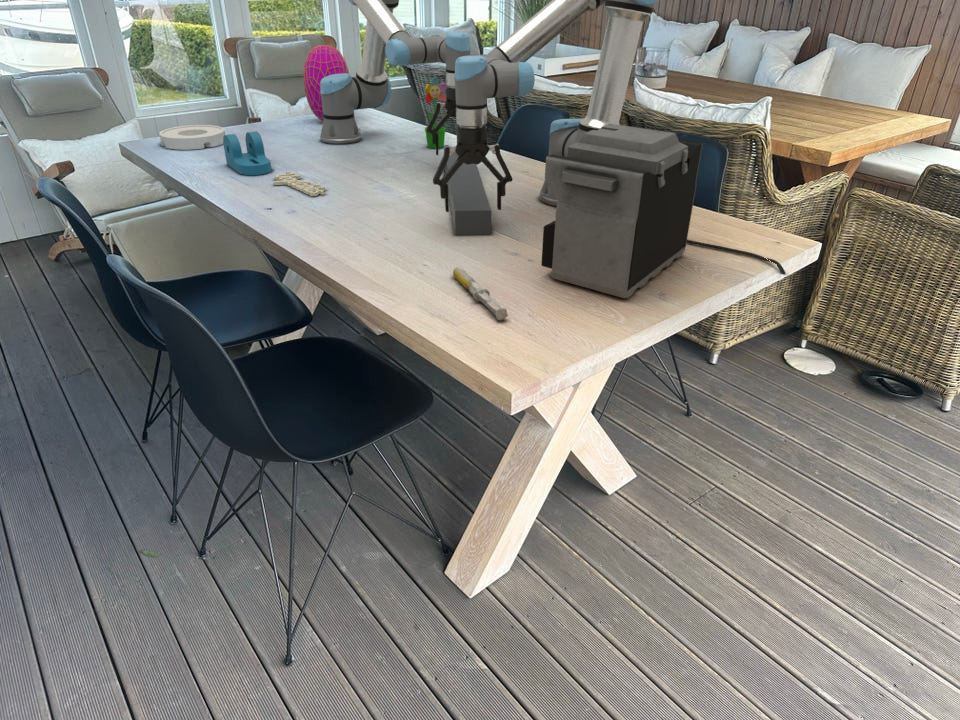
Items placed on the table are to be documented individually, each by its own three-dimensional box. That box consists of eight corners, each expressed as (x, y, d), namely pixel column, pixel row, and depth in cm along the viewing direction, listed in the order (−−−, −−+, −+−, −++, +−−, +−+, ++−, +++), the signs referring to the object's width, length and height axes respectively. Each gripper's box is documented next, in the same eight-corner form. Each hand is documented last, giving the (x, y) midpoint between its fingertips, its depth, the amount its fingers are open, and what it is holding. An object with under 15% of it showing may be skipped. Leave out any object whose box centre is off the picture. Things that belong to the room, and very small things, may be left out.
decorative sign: (262, 176, 218) (290, 170, 223) (262, 179, 218) (291, 173, 224) (303, 195, 201) (333, 189, 206) (303, 198, 201) (333, 192, 207)
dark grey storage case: (608, 233, 179) (621, 113, 163) (689, 253, 168) (712, 126, 152) (533, 279, 153) (540, 141, 138) (624, 305, 142) (643, 159, 127)
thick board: (490, 234, 178) (491, 210, 174) (455, 235, 177) (455, 210, 174) (470, 166, 235) (470, 146, 232) (444, 166, 235) (443, 147, 231)
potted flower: (429, 149, 253) (427, 77, 241) (420, 145, 259) (418, 74, 247) (452, 147, 257) (451, 75, 245) (443, 142, 263) (442, 72, 250)
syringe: (449, 274, 155) (449, 263, 153) (465, 272, 156) (464, 260, 154) (490, 323, 135) (491, 310, 133) (508, 319, 136) (508, 307, 134)
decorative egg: (337, 115, 306) (331, 41, 291) (362, 122, 294) (356, 45, 279) (299, 120, 295) (290, 44, 280) (323, 128, 283) (315, 49, 267)
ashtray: (176, 134, 270) (174, 124, 268) (235, 135, 269) (233, 125, 267) (150, 149, 250) (147, 137, 248) (213, 150, 249) (211, 139, 247)
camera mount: (227, 164, 233) (221, 132, 227) (257, 160, 238) (252, 129, 233) (244, 176, 220) (239, 143, 215) (276, 172, 225) (271, 139, 220)
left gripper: (495, 84, 222) (493, 151, 233) (418, 84, 220) (419, 151, 231) (498, 88, 215) (496, 157, 226) (418, 88, 213) (420, 157, 224)
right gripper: (520, 120, 172) (518, 202, 183) (420, 123, 170) (425, 206, 181) (524, 127, 166) (522, 212, 176) (420, 130, 164) (425, 215, 175)
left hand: (457, 154), depth 229 cm, fingers open, 13 cm apart
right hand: (473, 209), depth 179 cm, fingers open, 13 cm apart
